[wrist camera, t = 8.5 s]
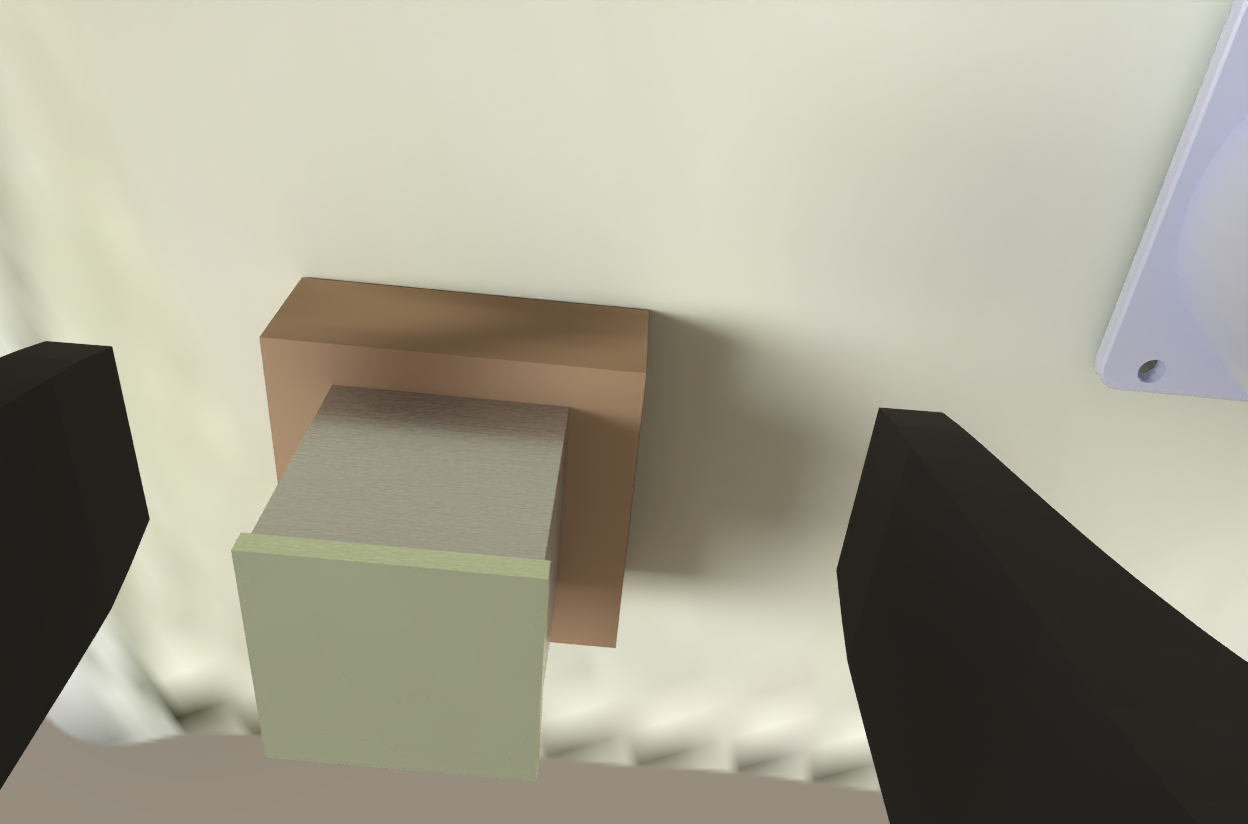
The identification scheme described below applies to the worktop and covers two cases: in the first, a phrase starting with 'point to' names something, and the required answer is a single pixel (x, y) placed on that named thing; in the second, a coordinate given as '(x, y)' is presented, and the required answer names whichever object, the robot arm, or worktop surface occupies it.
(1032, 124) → the worktop surface
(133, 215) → the worktop surface
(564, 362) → the walnut block
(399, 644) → the tea tin
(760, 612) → the worktop surface
